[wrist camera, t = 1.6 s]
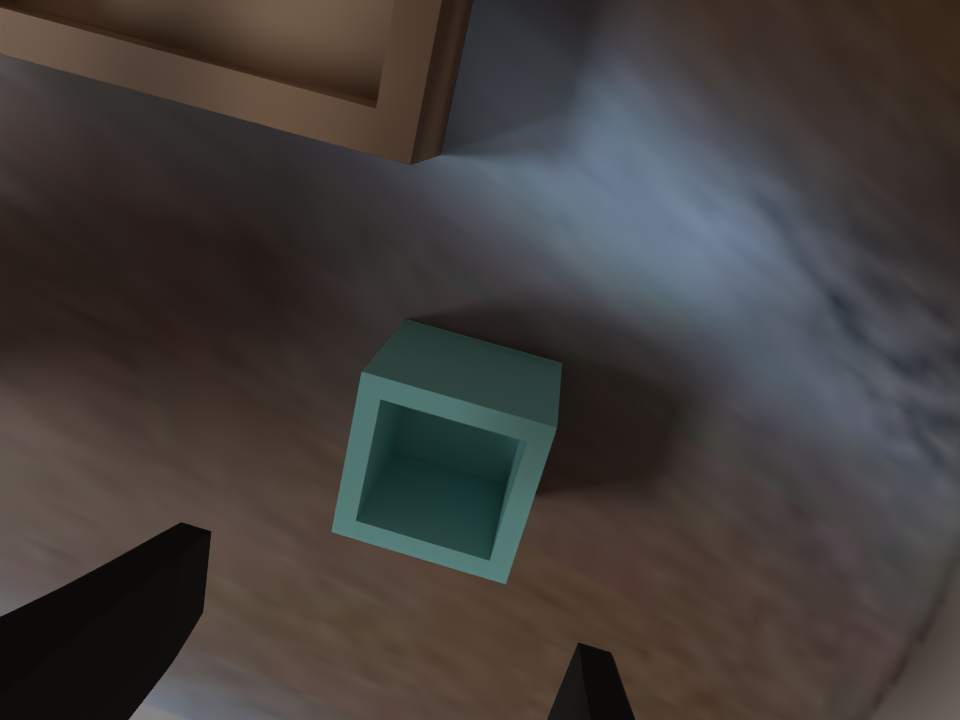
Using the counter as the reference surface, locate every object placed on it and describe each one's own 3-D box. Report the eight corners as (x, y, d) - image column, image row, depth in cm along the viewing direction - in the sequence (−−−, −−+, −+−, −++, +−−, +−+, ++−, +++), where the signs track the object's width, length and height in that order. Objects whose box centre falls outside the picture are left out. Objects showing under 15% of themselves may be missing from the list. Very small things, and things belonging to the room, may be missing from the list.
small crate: (378, 452, 22) (331, 531, 18) (406, 317, 20) (361, 371, 16) (520, 494, 22) (505, 584, 18) (562, 361, 20) (557, 427, 16)
